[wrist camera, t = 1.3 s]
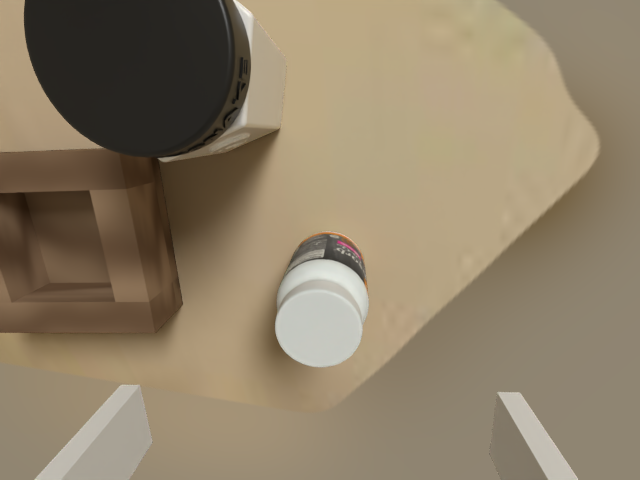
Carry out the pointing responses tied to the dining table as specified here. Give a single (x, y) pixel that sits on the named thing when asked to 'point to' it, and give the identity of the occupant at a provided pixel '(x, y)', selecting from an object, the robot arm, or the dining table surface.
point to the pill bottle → (322, 301)
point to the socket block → (84, 243)
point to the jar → (158, 73)
